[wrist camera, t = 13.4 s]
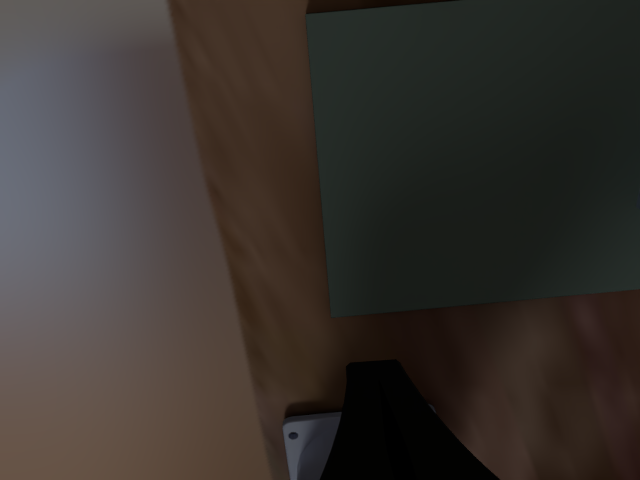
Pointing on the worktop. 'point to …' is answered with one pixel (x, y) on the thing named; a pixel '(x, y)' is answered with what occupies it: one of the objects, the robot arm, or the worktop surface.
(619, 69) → the pitch mat
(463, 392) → the worktop surface
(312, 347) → the worktop surface
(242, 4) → the worktop surface
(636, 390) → the worktop surface
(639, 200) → the block
